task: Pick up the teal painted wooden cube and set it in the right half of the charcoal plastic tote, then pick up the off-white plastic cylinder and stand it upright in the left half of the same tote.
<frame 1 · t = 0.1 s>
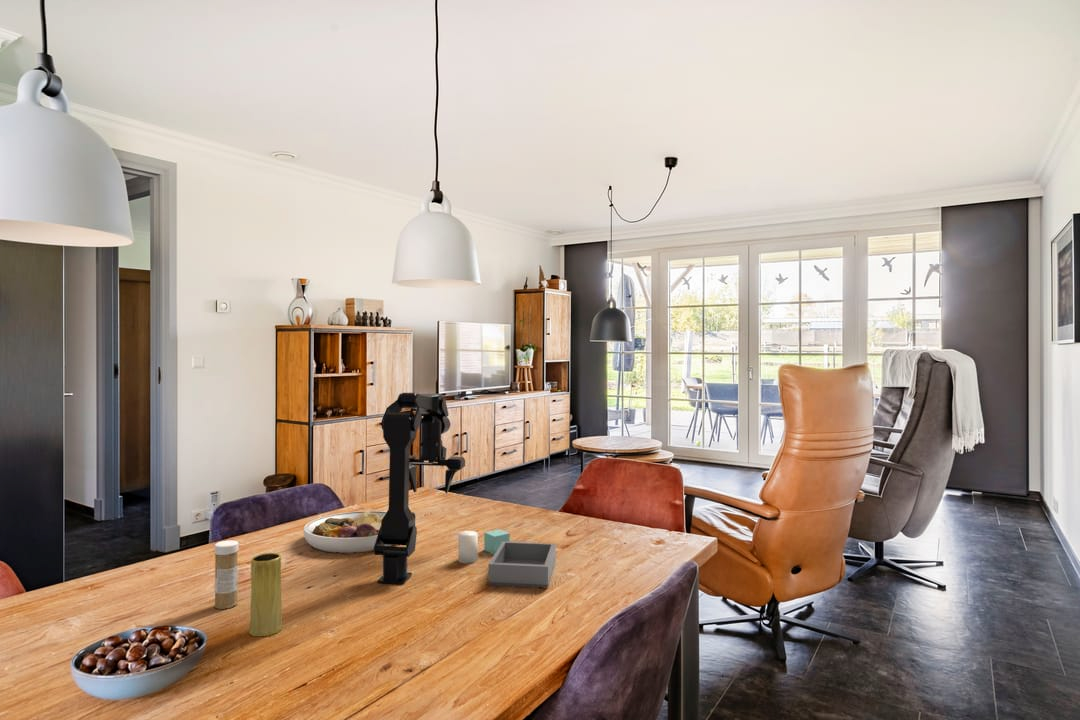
hand: (430, 492, 176), 15 cm above the table, tool pointing down, fingers open, 9 cm apart
spice jar: (226, 606, 132), on the table
tote: (523, 573, 153), on the table
teal cube: (496, 550, 171), on the table
bowl: (358, 541, 181), on the table
vase: (266, 631, 121), on the table
white cylinder: (467, 560, 163), on the table
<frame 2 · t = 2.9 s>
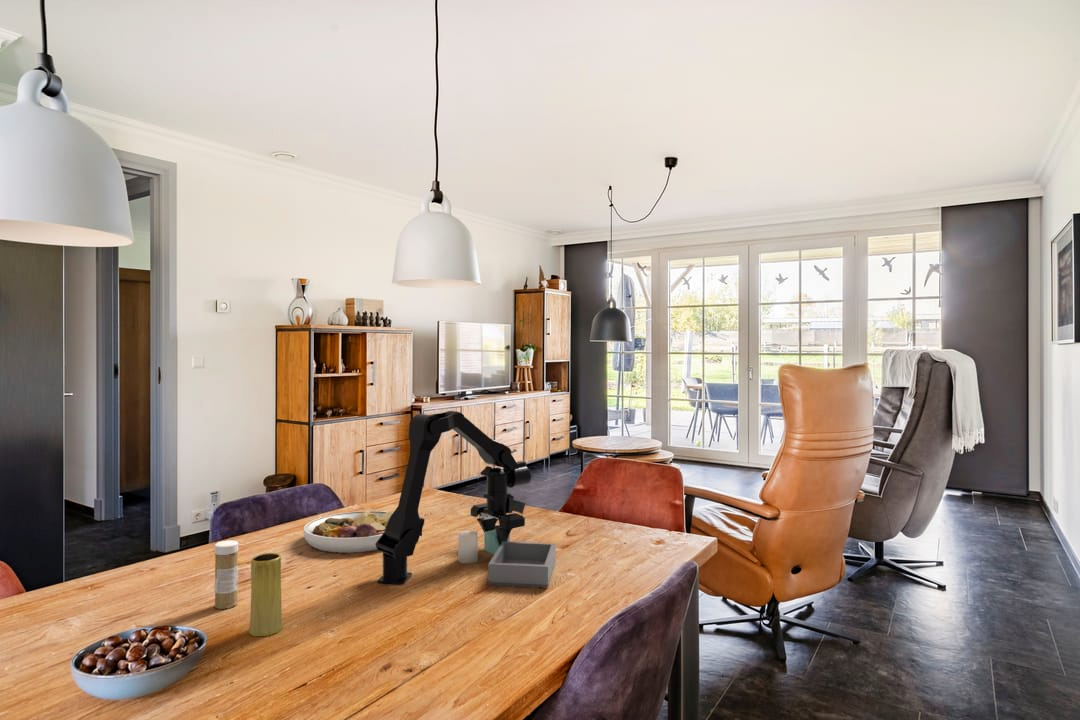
hand: (496, 546, 171), 1 cm above the table, tool pointing down, fingers closed on teal cube, 5 cm apart
teal cube: (496, 550, 171), on the table, touching gripper
everything else where it was.
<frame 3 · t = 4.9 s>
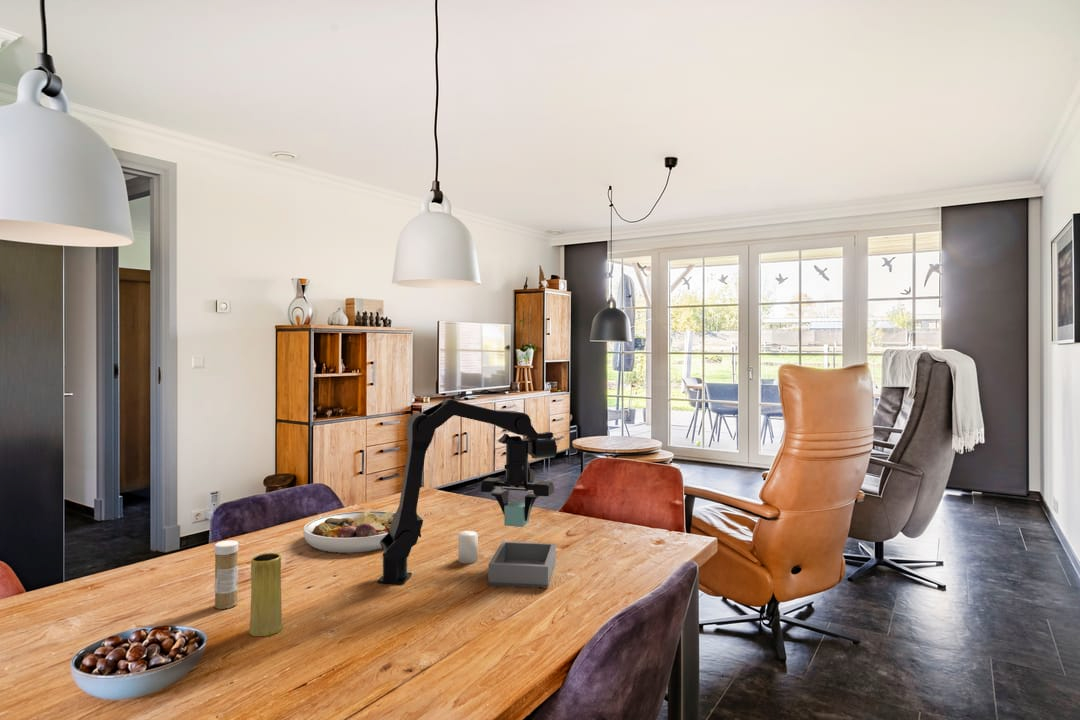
hand: (516, 519, 161), 11 cm above the table, tool pointing down, fingers closed on teal cube, 5 cm apart
teal cube: (516, 523, 161), point 10 cm above the table, touching gripper
everything else where it was.
when the fingers open (3 cm above the table, at t = 7.1 s): teal cube drops 1 cm, resting on tote.
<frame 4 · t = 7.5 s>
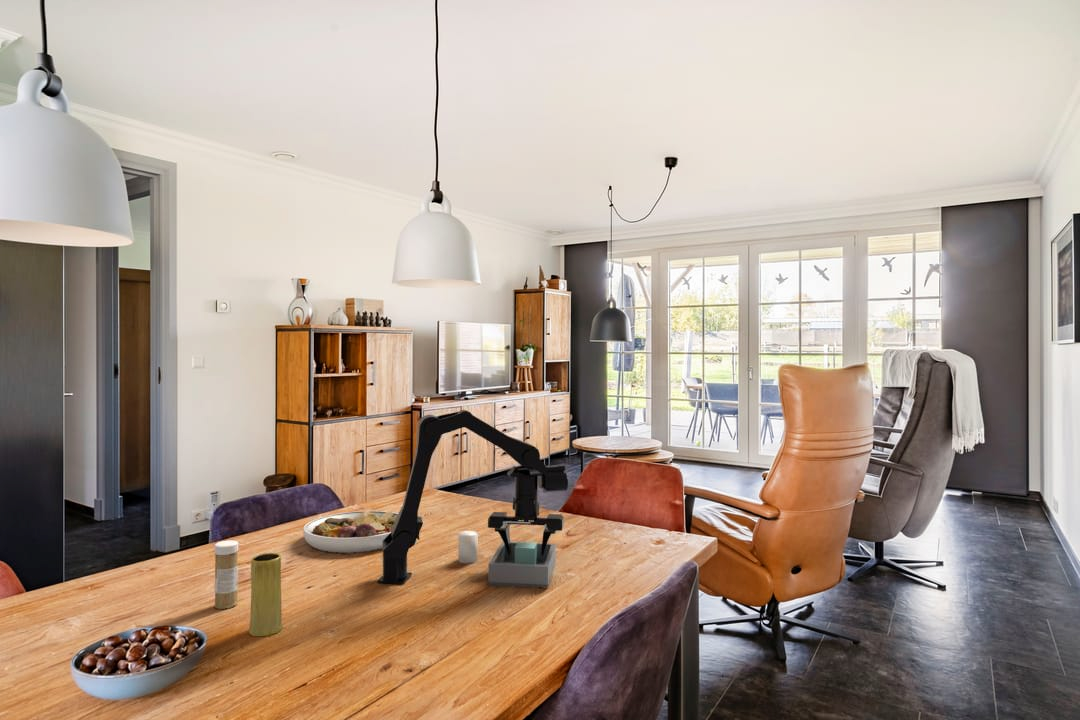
hand: (525, 555, 157), 3 cm above the table, tool pointing down, fingers open, 8 cm apart
teal cube: (525, 564, 157), point 1 cm above the table, touching tote
everything else where it was.
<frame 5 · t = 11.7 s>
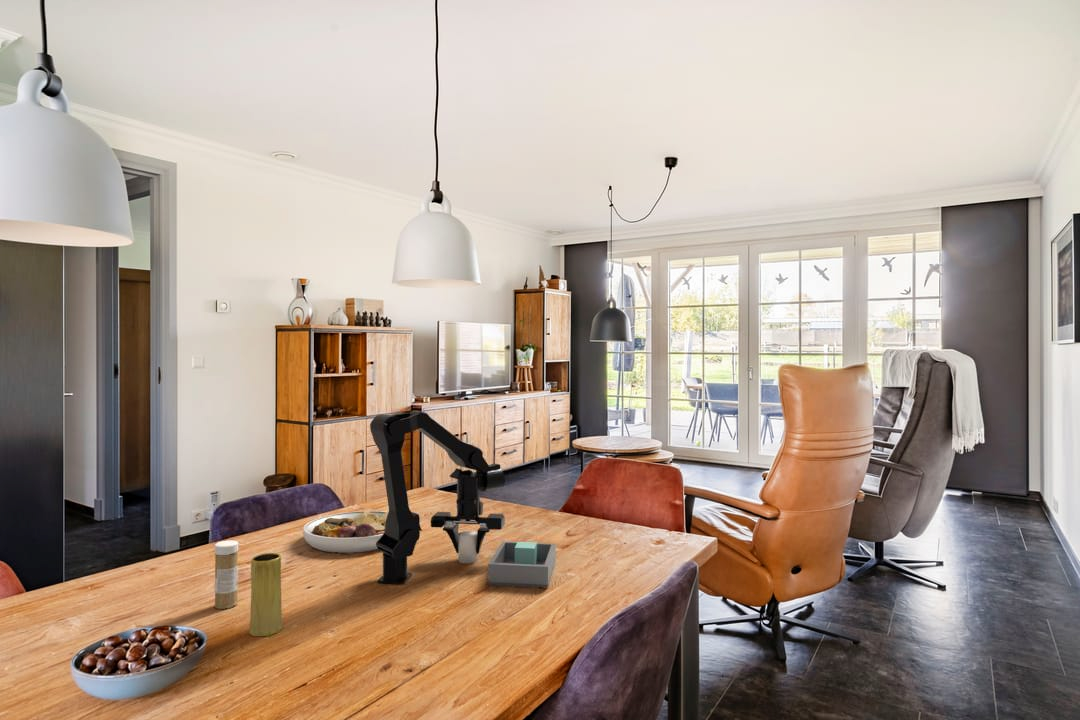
hand: (467, 553, 163), 2 cm above the table, tool pointing down, fingers closed on white cylinder, 5 cm apart
white cylinder: (467, 560, 163), on the table, touching gripper
everything else where it was.
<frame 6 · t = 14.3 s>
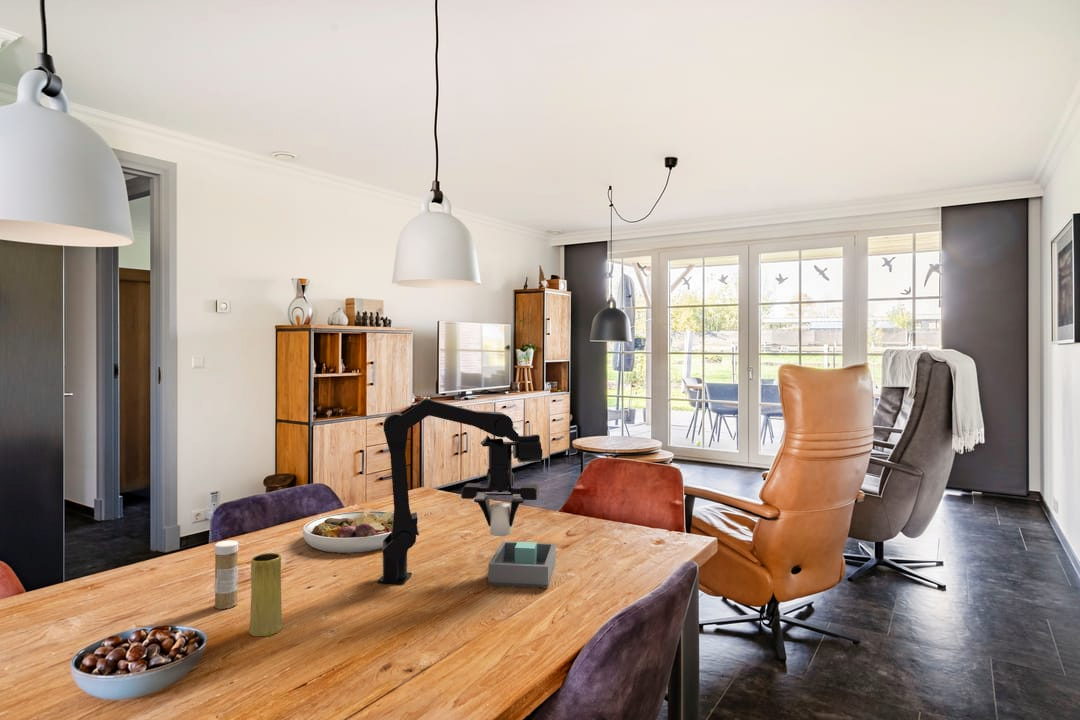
hand: (500, 526, 154), 11 cm above the table, tool pointing down, fingers closed on white cylinder, 5 cm apart
white cylinder: (500, 533, 154), point 9 cm above the table, touching gripper
everything else where it was.
when the fingers open (4 cm above the table, at t = 16.7 s): white cylinder drops 1 cm, resting on tote.
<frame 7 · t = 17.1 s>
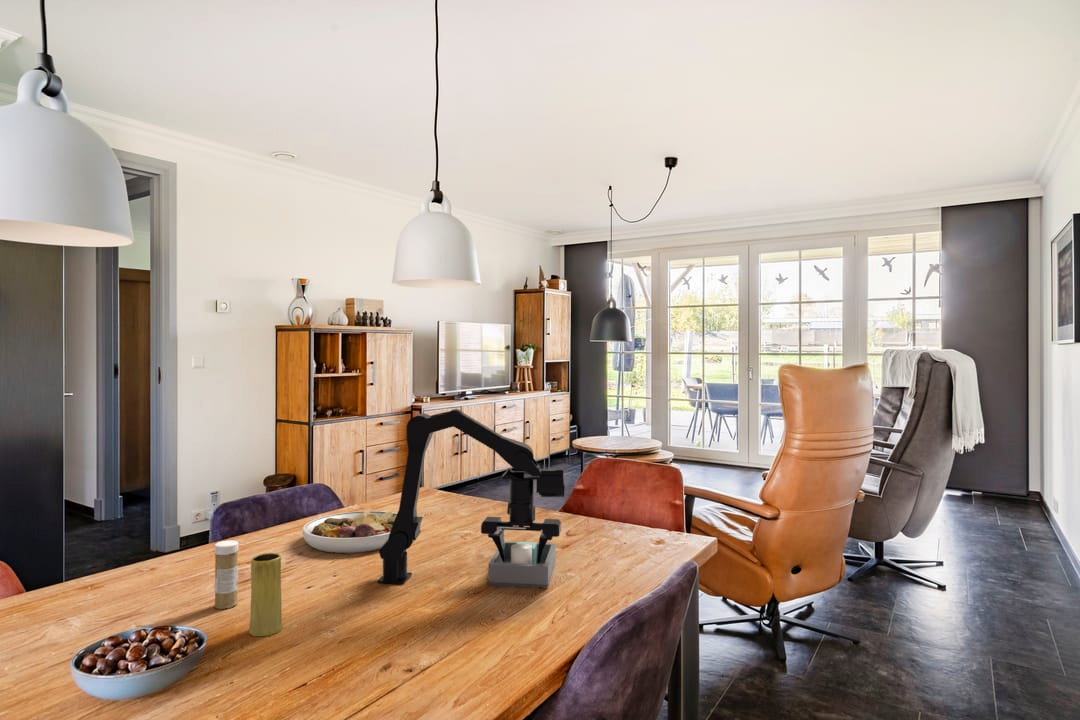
hand: (521, 562, 149), 4 cm above the table, tool pointing down, fingers open, 8 cm apart
white cylinder: (521, 575, 149), point 1 cm above the table, touching tote
everything else where it was.
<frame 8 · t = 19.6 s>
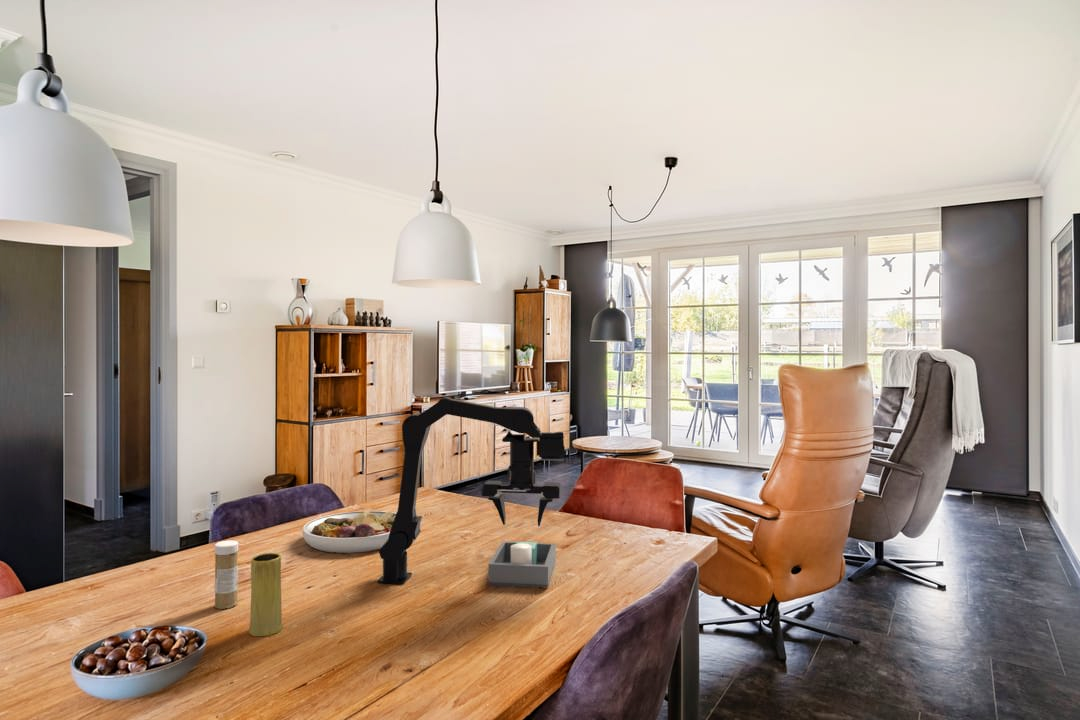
hand: (521, 525, 149), 13 cm above the table, tool pointing down, fingers open, 8 cm apart
nothing on the table moved.
at the end: teal cube inside the target area on the tote (4.0 cm from its centre), point 0.8 cm above the tote's base; white cylinder inside the target area on the tote (3.9 cm from its centre), point 0.8 cm above the tote's base; white cylinder tilted 1° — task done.
